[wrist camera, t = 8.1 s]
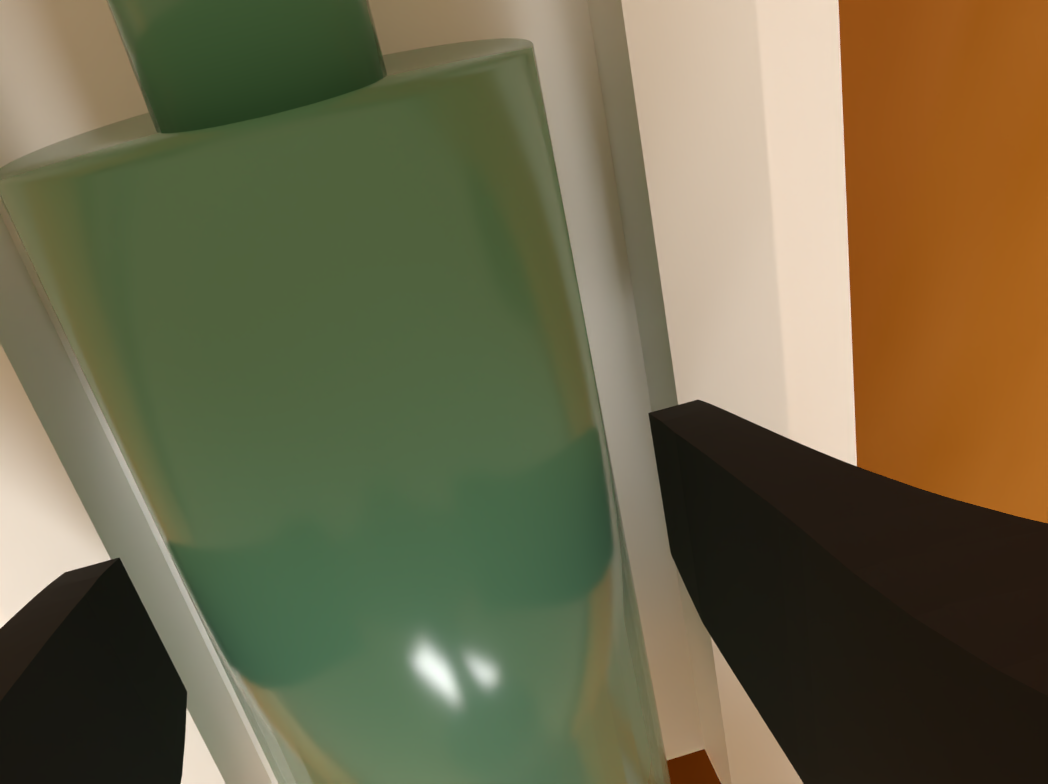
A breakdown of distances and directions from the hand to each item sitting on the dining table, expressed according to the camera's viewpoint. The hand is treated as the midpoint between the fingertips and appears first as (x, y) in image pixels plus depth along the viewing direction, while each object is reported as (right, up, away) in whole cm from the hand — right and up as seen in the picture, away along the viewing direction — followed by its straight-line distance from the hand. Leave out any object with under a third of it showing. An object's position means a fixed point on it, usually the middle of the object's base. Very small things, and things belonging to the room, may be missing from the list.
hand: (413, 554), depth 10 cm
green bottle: (0, +3, +2) cm, 3 cm away
